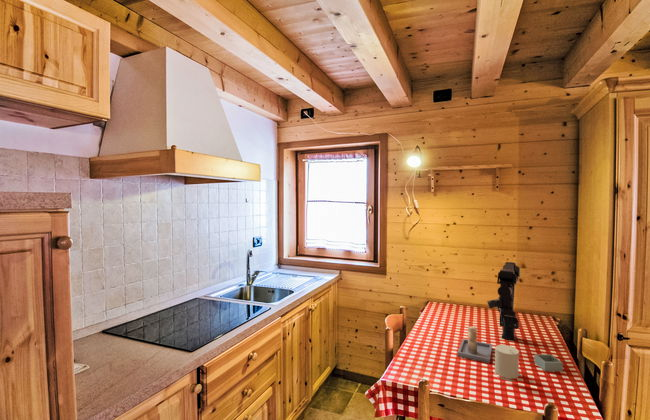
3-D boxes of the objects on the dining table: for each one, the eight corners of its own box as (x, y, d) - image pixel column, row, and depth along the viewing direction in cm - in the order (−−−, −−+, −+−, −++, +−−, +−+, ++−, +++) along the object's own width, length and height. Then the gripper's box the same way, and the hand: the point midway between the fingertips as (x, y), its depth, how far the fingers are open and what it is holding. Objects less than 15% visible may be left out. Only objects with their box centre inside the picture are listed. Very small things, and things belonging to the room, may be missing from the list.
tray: (462, 342, 176) (462, 338, 176) (492, 348, 169) (492, 344, 169) (457, 356, 161) (457, 352, 161) (489, 363, 154) (489, 359, 154)
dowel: (474, 350, 166) (473, 326, 166) (478, 353, 162) (478, 329, 162) (466, 350, 165) (466, 326, 165) (471, 354, 161) (470, 329, 161)
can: (506, 382, 138) (506, 354, 137) (489, 371, 146) (490, 345, 146) (524, 379, 140) (524, 351, 140) (506, 368, 149) (507, 342, 149)
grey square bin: (534, 365, 152) (534, 354, 152) (551, 365, 152) (551, 354, 152) (544, 373, 145) (544, 362, 144) (562, 374, 144) (562, 362, 144)
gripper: (487, 290, 180) (486, 320, 179) (490, 296, 163) (488, 328, 162) (510, 293, 176) (509, 323, 175) (516, 299, 158) (514, 332, 157)
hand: (505, 326), depth 167 cm, fingers open, 9 cm apart
